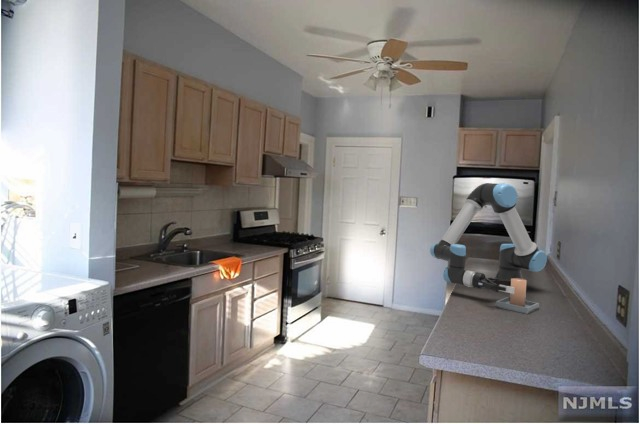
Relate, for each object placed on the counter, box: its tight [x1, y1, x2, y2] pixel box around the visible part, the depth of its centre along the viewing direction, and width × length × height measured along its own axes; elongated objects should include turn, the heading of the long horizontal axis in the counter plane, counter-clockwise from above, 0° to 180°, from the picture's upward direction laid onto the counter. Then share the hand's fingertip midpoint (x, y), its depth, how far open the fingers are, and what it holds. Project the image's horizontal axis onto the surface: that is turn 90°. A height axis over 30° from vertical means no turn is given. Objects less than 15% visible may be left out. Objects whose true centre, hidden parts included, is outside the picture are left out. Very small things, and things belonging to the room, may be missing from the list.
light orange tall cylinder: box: [509, 278, 527, 307], centre depth 200 cm, size 6×6×12 cm
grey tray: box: [495, 296, 540, 315], centre depth 200 cm, size 14×14×2 cm
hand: (520, 288), depth 199 cm, fingers open, 13 cm apart
